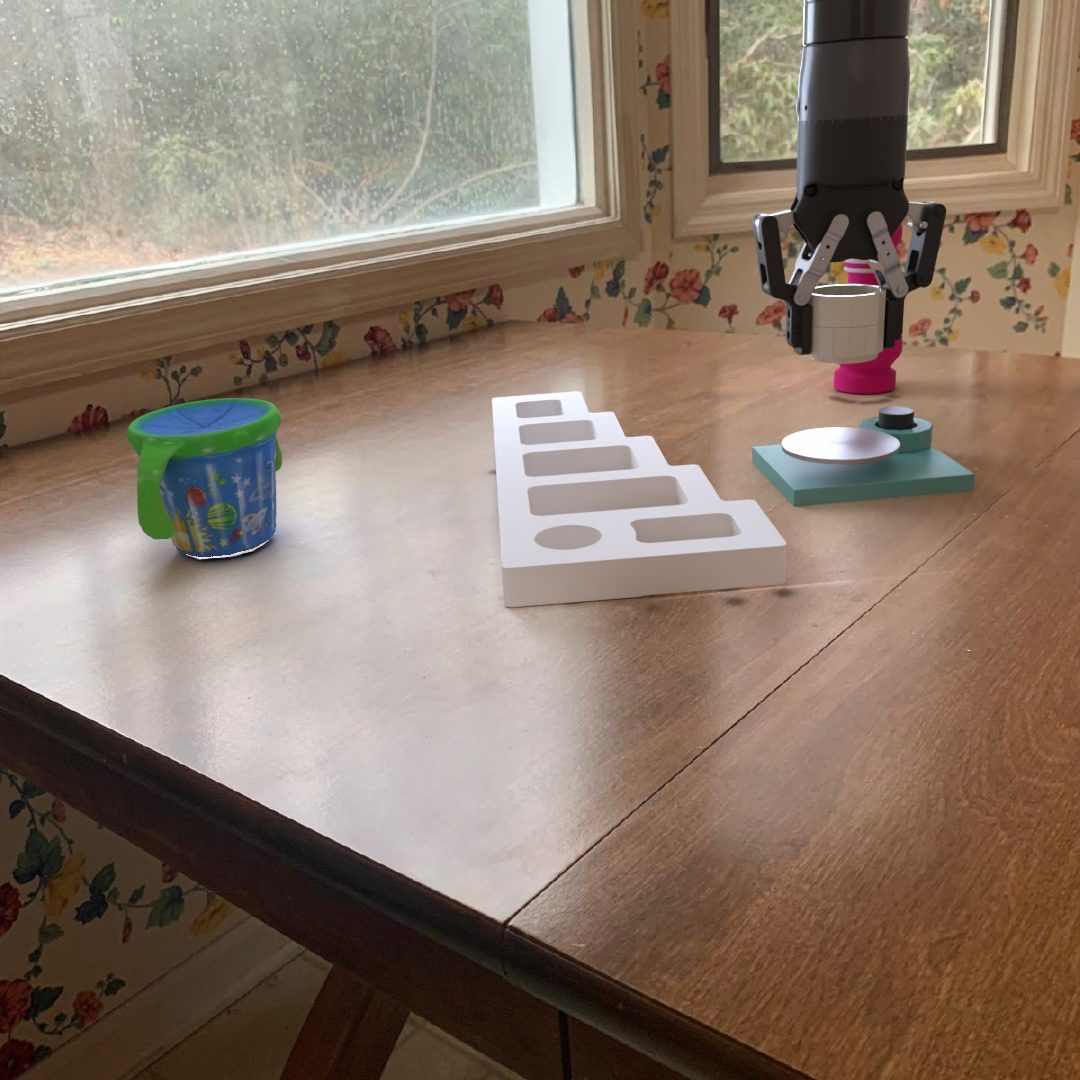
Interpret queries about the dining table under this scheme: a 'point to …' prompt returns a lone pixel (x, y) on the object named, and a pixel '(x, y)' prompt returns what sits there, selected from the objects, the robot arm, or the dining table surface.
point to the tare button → (896, 418)
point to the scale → (867, 471)
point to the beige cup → (847, 323)
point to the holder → (613, 512)
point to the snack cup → (208, 474)
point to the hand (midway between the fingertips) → (843, 349)
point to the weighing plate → (840, 445)
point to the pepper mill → (878, 371)
